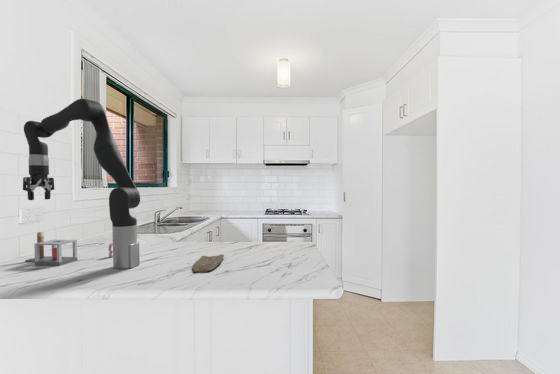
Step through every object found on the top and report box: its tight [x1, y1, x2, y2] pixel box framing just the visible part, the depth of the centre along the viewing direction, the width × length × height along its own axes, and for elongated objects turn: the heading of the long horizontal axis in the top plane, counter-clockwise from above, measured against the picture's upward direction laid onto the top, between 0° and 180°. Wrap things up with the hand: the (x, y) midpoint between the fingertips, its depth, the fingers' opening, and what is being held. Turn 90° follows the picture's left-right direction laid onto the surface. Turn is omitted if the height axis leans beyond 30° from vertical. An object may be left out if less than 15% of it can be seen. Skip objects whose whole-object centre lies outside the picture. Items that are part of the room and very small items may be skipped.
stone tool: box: [192, 253, 225, 273], centre depth 135 cm, size 11×3×25 cm
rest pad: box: [24, 255, 52, 263], centre depth 149 cm, size 8×8×1 cm
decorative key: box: [108, 242, 113, 258], centre depth 161 cm, size 7×1×20 cm
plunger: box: [51, 246, 57, 260], centre depth 143 cm, size 3×3×6 cm
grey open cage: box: [34, 239, 78, 267], centre depth 143 cm, size 12×10×9 cm
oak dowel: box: [36, 231, 45, 259], centre depth 149 cm, size 2×2×12 cm
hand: (39, 199), depth 148 cm, fingers open, 8 cm apart
